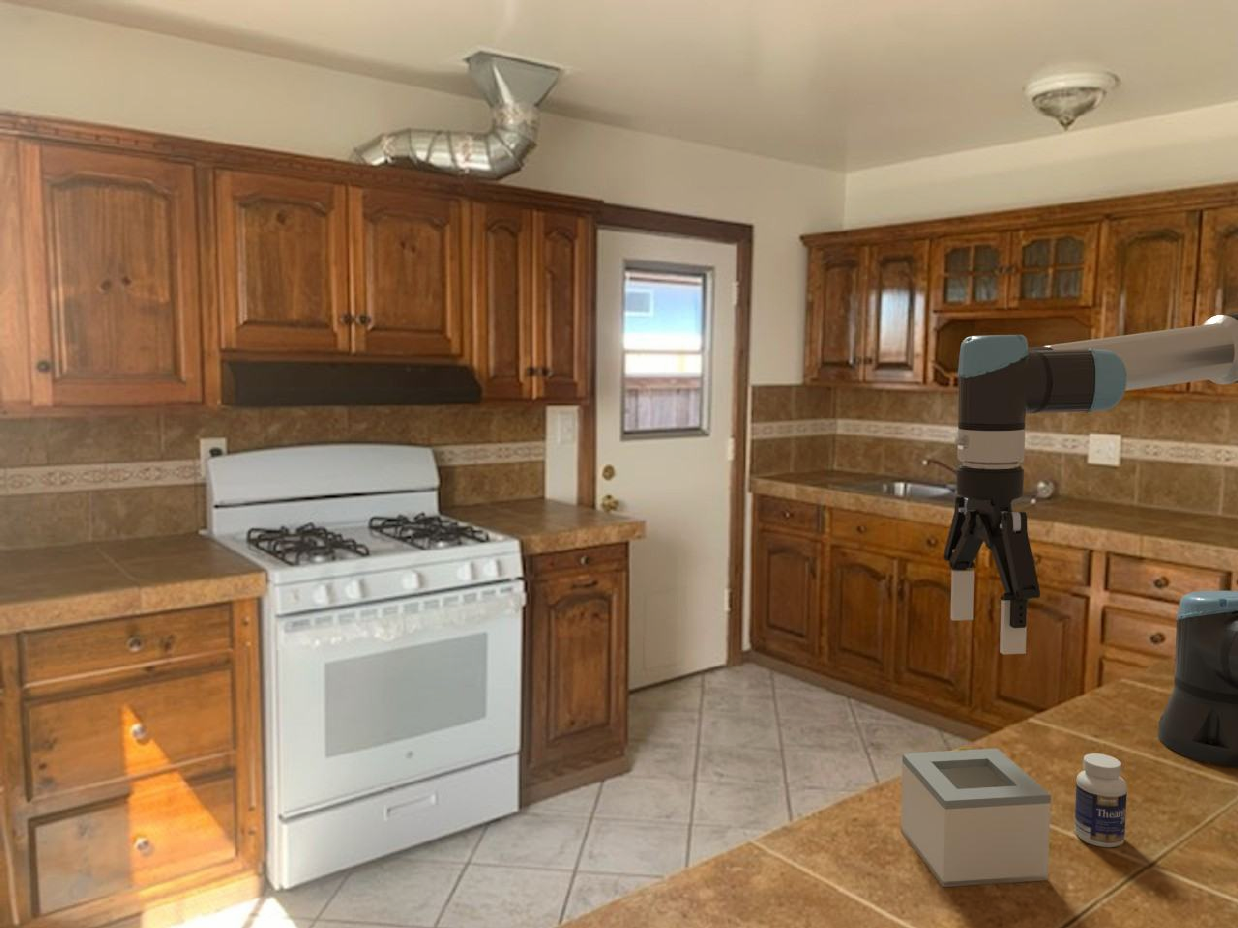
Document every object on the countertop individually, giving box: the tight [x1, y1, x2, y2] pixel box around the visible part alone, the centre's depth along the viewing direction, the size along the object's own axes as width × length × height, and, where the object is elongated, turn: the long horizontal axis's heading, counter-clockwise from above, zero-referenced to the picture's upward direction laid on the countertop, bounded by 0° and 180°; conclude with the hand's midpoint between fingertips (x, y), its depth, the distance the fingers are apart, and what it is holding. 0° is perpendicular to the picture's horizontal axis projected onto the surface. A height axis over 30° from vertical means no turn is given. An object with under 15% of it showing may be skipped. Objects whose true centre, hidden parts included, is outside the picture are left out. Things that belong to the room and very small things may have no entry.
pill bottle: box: [1073, 752, 1128, 848], centre depth 110 cm, size 5×5×10 cm
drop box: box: [900, 748, 1052, 888], centre depth 107 cm, size 12×12×10 cm
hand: (985, 635), depth 113 cm, fingers open, 13 cm apart
